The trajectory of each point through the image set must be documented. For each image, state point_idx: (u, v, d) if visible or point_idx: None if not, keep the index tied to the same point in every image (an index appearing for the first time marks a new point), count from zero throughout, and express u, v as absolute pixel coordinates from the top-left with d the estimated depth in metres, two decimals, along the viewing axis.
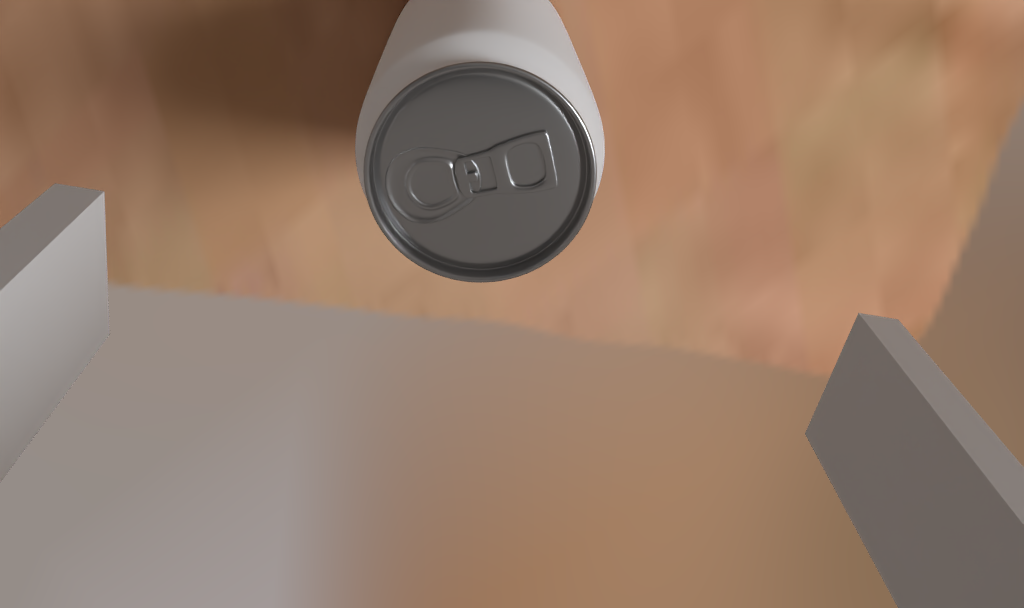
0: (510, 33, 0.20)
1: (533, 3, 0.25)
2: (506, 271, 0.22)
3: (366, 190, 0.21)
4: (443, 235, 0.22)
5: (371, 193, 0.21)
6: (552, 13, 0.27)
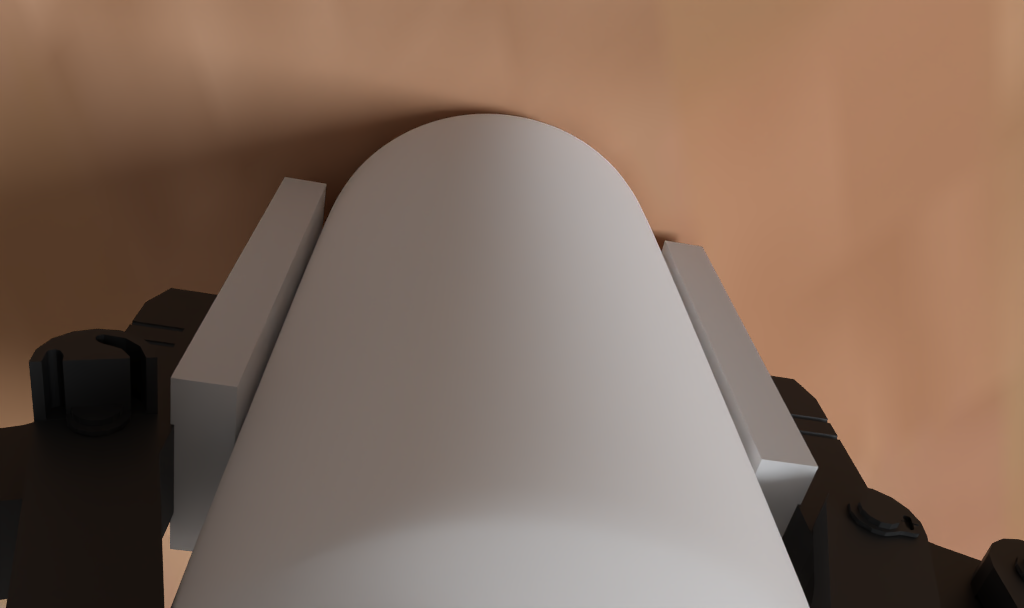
0: (589, 514, 0.06)
1: (608, 240, 0.11)
2: None
3: None
4: None
5: None
6: (641, 237, 0.13)
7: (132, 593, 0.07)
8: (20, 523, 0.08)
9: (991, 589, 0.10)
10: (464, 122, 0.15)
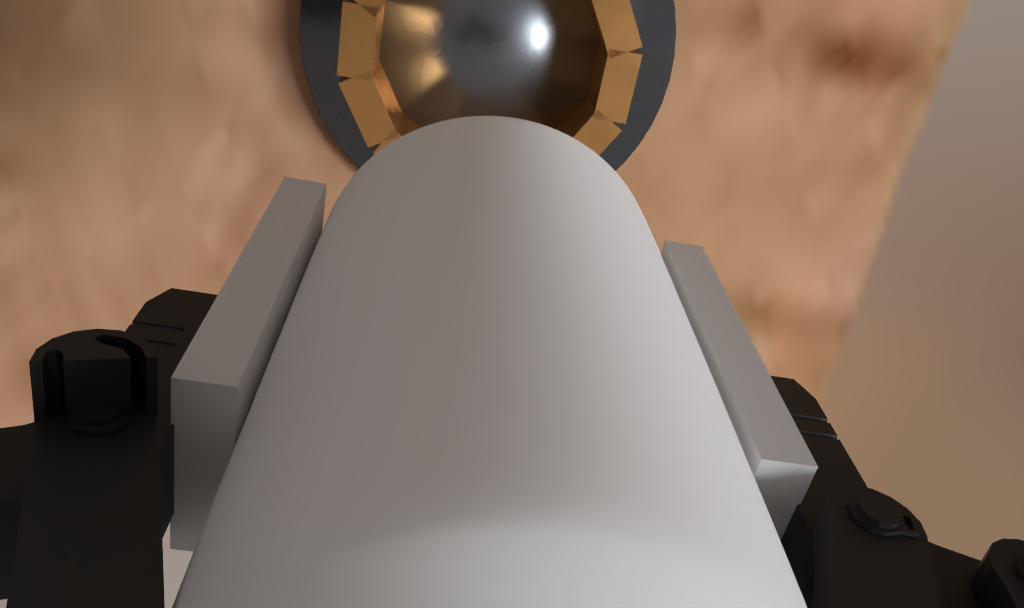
0: (587, 516, 0.06)
1: (607, 242, 0.11)
2: None
3: None
4: None
5: None
6: (640, 239, 0.13)
7: (130, 593, 0.07)
8: (20, 523, 0.08)
9: (991, 589, 0.10)
10: (464, 124, 0.15)
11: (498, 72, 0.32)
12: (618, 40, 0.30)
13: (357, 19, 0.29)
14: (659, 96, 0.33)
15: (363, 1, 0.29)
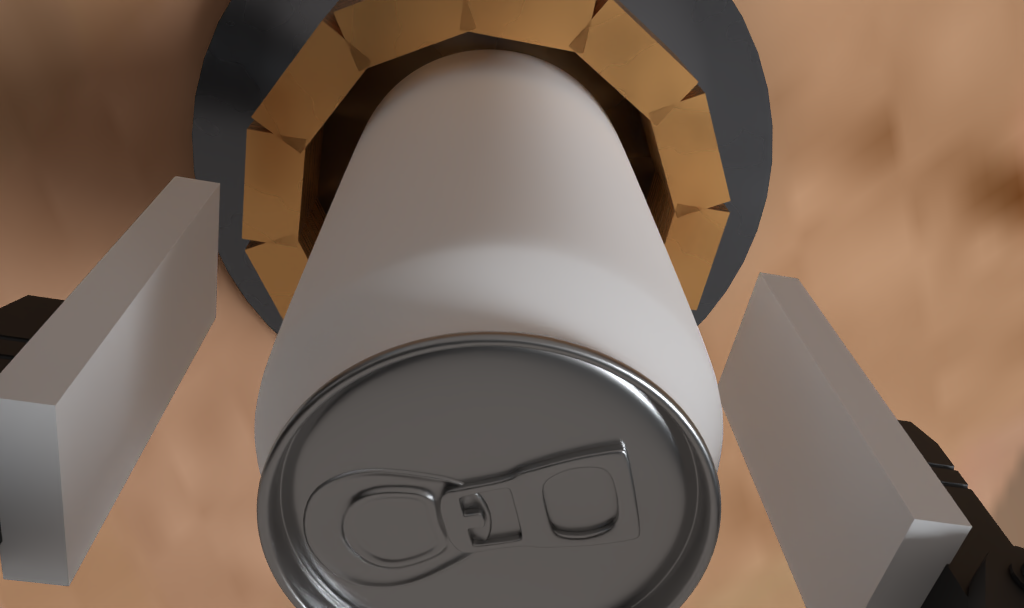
0: (556, 247, 0.10)
1: (583, 130, 0.15)
2: None
3: (264, 546, 0.10)
4: (417, 605, 0.11)
5: (274, 551, 0.10)
6: (610, 138, 0.17)
7: None
8: None
9: None
10: (475, 54, 0.18)
11: None
12: (692, 191, 0.18)
13: (272, 156, 0.18)
14: (739, 252, 0.22)
15: (281, 129, 0.18)
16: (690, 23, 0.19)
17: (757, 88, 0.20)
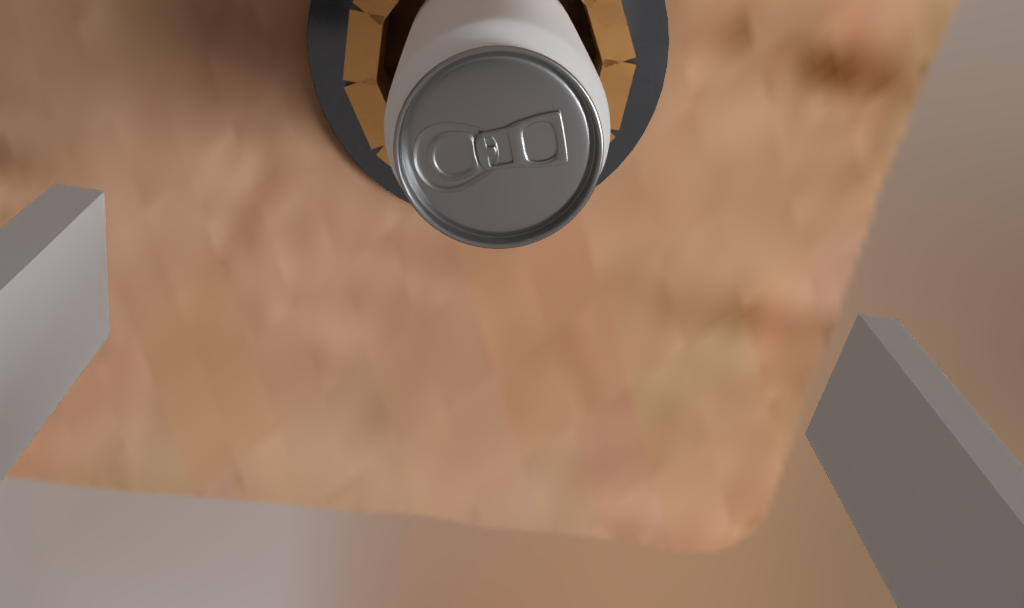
0: (530, 22, 0.23)
1: (547, 0, 0.28)
2: (517, 239, 0.24)
3: (395, 159, 0.23)
4: (462, 204, 0.24)
5: (399, 162, 0.23)
6: (563, 11, 0.29)
7: None
8: None
9: None
10: None
11: None
12: (613, 50, 0.31)
13: (363, 26, 0.30)
14: (651, 104, 0.34)
15: (369, 9, 0.30)
16: None
17: None
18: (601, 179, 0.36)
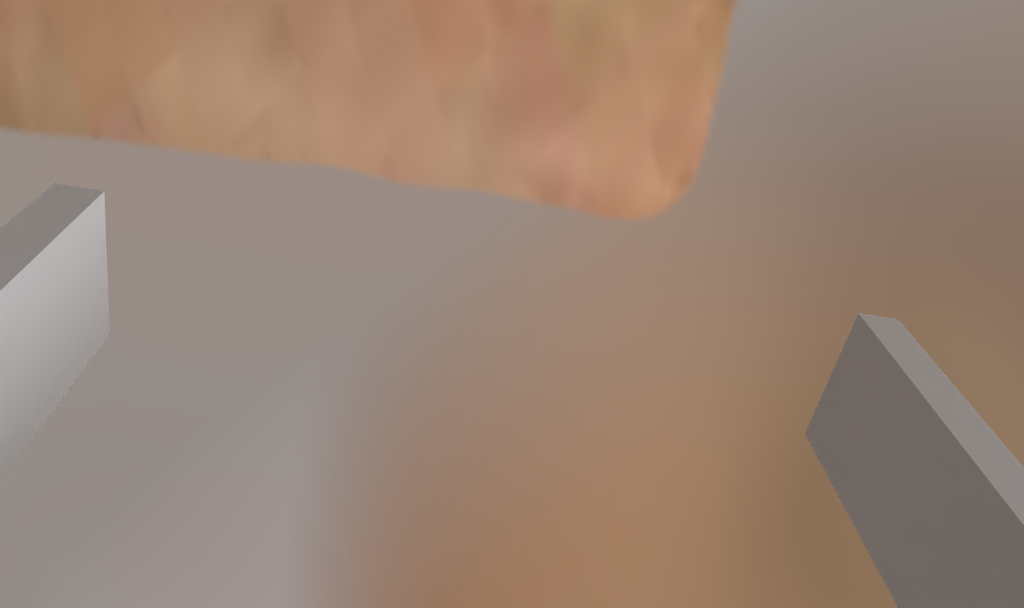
0: None
1: None
2: None
3: None
4: None
5: None
6: None
7: None
8: None
9: None
10: None
11: None
12: None
13: None
14: None
15: None
16: None
17: None
18: None
